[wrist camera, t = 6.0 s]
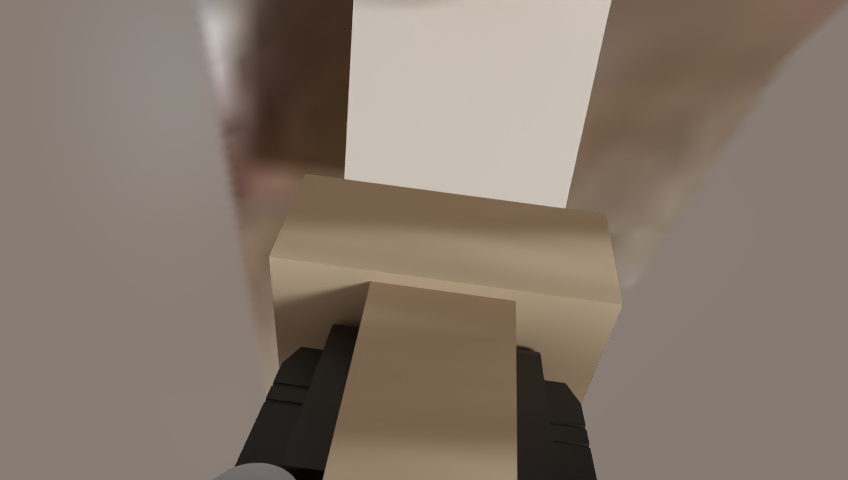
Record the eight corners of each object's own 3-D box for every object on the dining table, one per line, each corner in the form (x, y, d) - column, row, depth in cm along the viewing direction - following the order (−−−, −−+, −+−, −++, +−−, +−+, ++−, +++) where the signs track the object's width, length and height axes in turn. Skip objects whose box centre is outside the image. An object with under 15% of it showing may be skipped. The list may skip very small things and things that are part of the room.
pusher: (304, 173, 13) (92, 659, 6) (605, 213, 13) (705, 753, 6) (309, 281, 15) (151, 737, 8) (570, 317, 15) (617, 809, 8)
